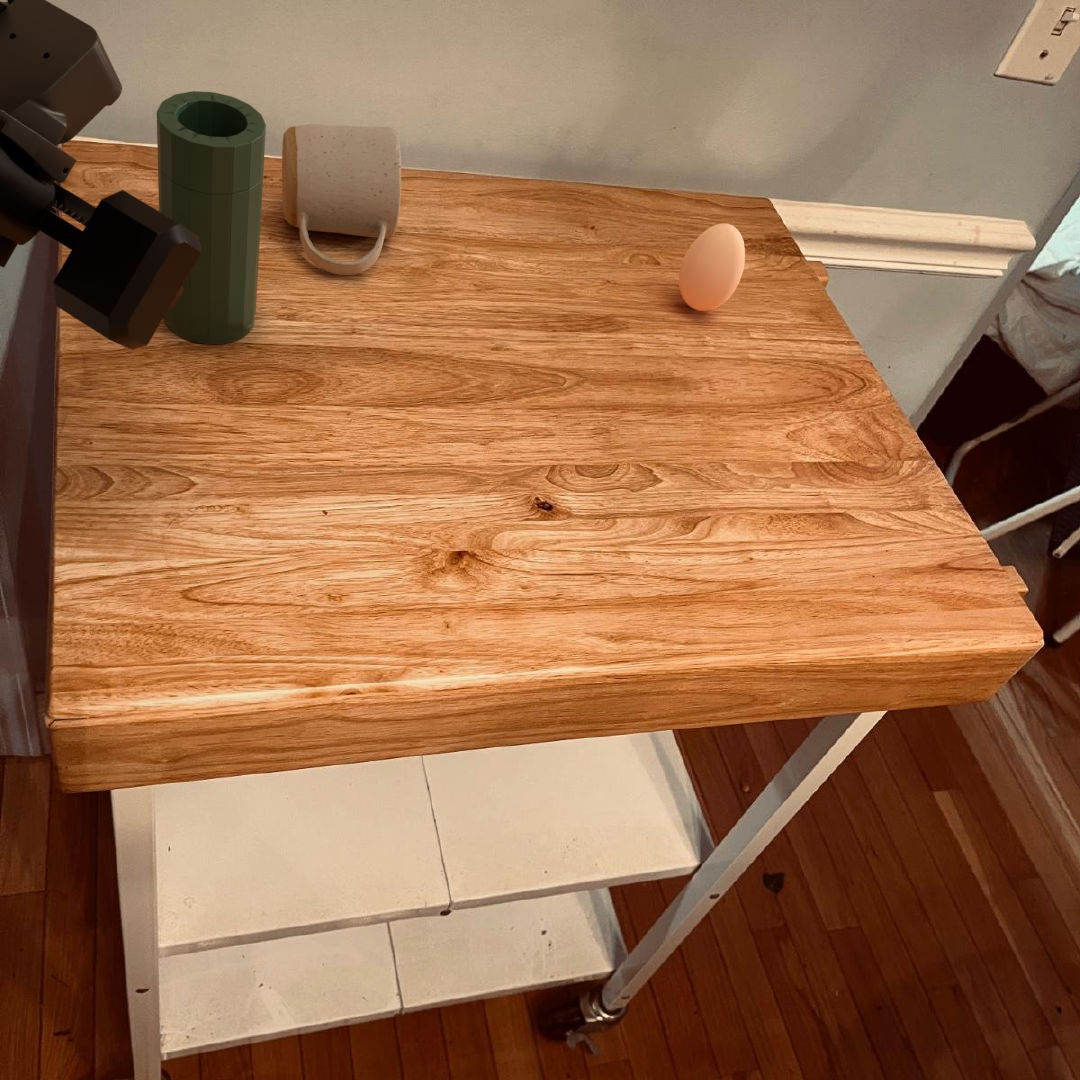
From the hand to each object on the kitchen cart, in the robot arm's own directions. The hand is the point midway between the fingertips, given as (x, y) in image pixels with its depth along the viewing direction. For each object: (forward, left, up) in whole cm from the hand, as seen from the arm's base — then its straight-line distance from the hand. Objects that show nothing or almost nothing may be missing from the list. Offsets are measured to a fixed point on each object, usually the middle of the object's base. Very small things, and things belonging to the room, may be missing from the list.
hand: (112, 256), depth 59 cm
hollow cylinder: (+4, +7, -8) cm, 11 cm away
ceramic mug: (+12, +18, -8) cm, 23 cm away
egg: (+40, +17, -8) cm, 44 cm away
